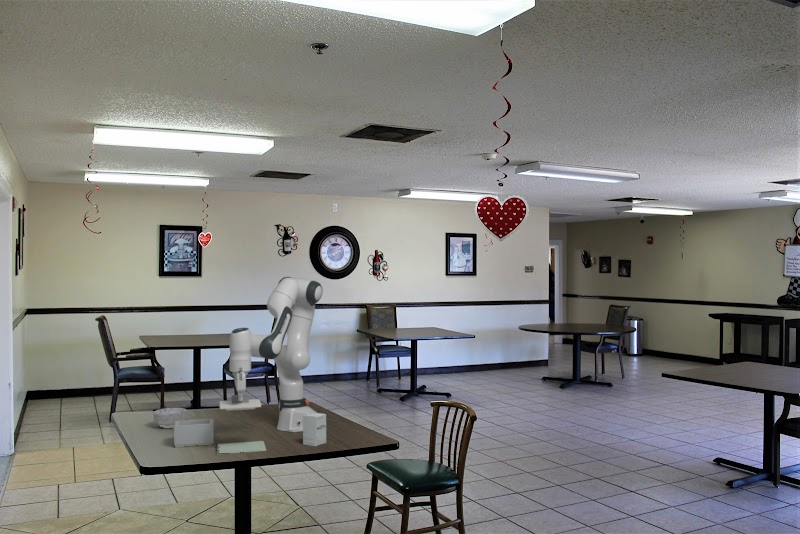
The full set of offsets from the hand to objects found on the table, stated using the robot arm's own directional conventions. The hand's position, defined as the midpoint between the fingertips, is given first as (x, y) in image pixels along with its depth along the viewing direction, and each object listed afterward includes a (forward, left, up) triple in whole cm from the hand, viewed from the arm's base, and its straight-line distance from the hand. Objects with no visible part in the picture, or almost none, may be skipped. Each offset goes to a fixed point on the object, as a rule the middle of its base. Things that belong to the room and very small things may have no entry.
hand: (240, 399), depth 291 cm
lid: (0, 0, -4) cm, 4 cm away
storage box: (+19, -15, -20) cm, 32 cm away
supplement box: (-31, +2, -21) cm, 37 cm away
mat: (0, 0, -20) cm, 20 cm away
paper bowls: (+31, -54, -21) cm, 66 cm away
